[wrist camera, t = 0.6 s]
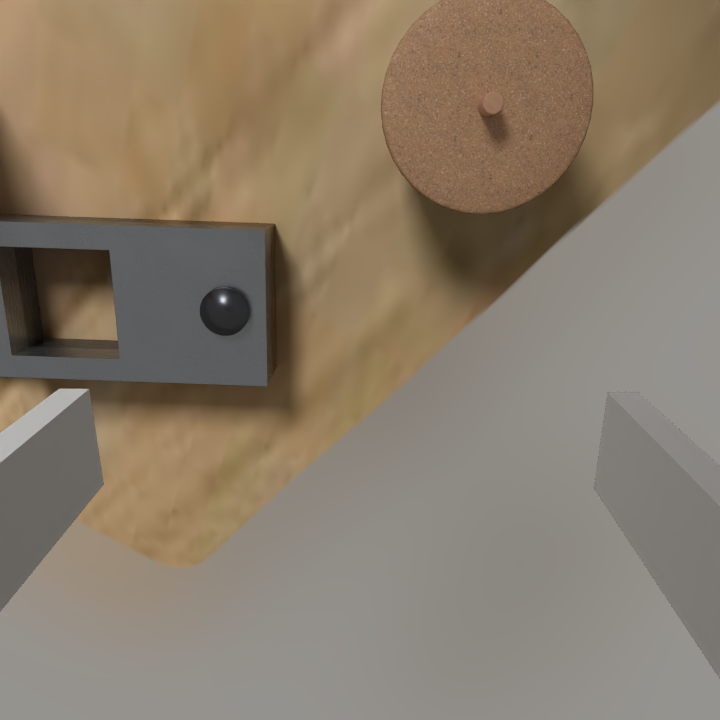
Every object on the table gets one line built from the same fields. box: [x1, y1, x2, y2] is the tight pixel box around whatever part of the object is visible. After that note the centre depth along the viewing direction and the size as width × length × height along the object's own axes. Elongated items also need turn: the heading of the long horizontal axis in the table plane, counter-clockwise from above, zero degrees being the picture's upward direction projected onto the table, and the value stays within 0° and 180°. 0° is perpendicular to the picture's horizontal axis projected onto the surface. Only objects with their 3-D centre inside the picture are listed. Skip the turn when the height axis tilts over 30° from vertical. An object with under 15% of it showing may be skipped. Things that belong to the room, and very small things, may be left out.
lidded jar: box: [381, 0, 593, 214], centre depth 34 cm, size 11×11×9 cm
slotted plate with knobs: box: [0, 214, 276, 386], centre depth 40 cm, size 10×26×5 cm, turn 88°
